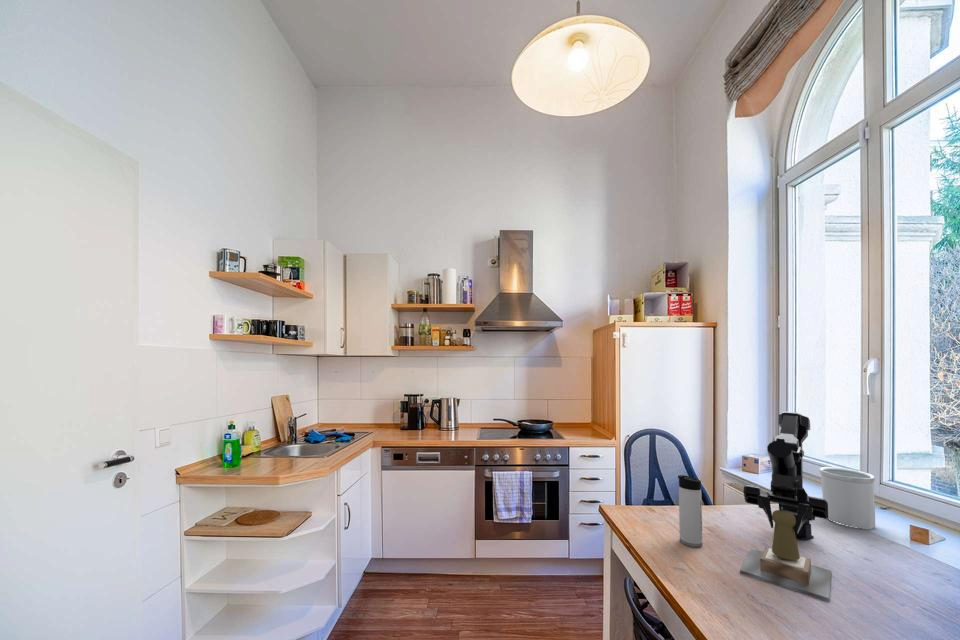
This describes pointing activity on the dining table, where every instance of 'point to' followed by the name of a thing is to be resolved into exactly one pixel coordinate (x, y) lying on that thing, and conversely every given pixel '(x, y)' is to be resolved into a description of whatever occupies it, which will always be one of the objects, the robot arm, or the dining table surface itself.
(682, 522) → the travel mug
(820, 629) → the dining table surface
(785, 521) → the cork
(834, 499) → the utensil holder
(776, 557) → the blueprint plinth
